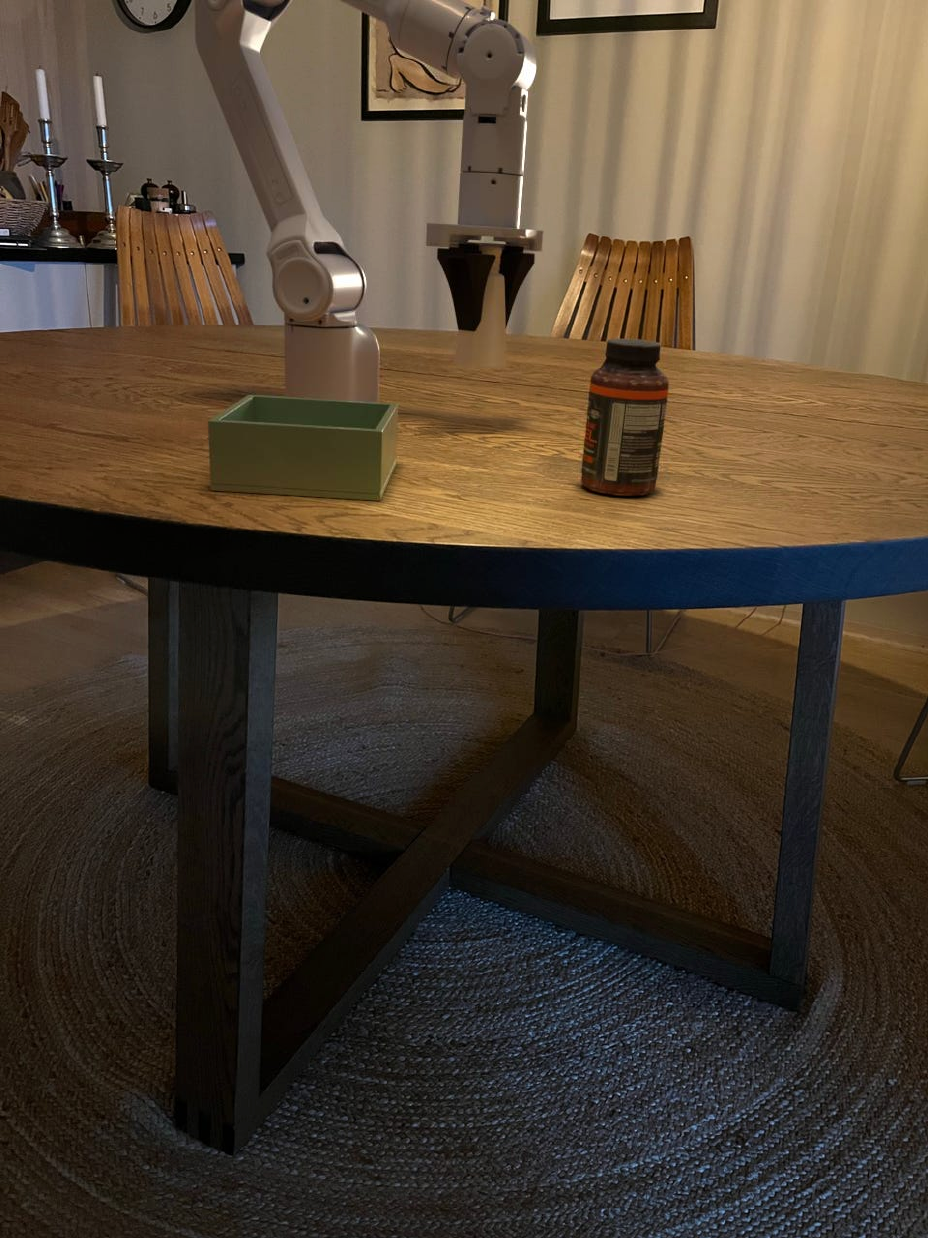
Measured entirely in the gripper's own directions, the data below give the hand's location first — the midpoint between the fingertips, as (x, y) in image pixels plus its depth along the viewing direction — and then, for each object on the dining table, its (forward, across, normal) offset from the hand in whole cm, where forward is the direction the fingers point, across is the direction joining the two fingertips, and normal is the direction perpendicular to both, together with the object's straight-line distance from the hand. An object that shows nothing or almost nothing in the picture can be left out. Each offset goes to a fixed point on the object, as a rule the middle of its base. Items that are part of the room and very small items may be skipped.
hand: (481, 329), depth 96 cm
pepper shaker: (+4, 0, 0) cm, 4 cm away
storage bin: (+10, -26, -6) cm, 28 cm away
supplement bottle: (+10, -9, -23) cm, 27 cm away
